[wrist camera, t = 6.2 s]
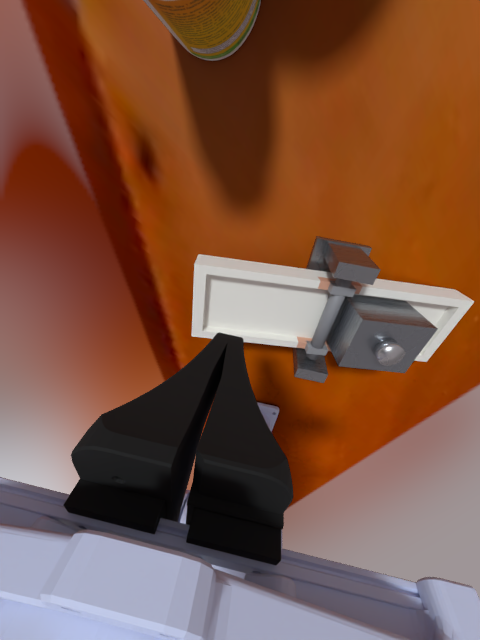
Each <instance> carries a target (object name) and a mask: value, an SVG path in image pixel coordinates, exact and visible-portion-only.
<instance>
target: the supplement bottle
mask: <svg viewBox="0 0 480 640" xmlns="http://www.w3.org/2000/svg"><path fill="white" fill-rule="evenodd" d="M143 1H144V2H145V3H146V4H147V5H148V7H149V8H150V9H151V10H152V11H153V12H154V14H155V15H156V16H157V17H158V18H159V19H160V21H161V22H162V23H163V24H164V25H165V27H166V28H167V29H168V30H169V31H170V33H171V34H172V35H173V36H174V37H175V38H176V39H177V40H178V42H179V43H180V44H181V45H182V46H183V47H184V48H185V49H186V50H187V51H188V52H190V53H191V54H192V55H194V56H196V57H198V58H200V59H204V60H210V61H216V60H221V59H224V58H226V57H228V56H230V55H232V54H233V53H234V52H236V51H237V50H238V49H239V48H240V46H241V45H242V44H243V43H244V41H245V40H246V39H247V37H248V36H249V34H250V32H251V30H252V28H253V26H254V23H255V21H256V18H257V15H258V11H259V7H260V2H261V0H143Z"/></svg>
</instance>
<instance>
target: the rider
mask: <svg viewBox="0 0 480 640" xmlns="http://www.w3.org/2000/svg"><path fill="white" fill-rule="evenodd" d="M437 329H438V328H436V327H435V326H434V325H433V324H432V323H431V322H430V321H428V320H427V319H426V318H425V317H424V316H423V315H421V314H420V313H419V312H418V311H417V310H416V309H414V308H413V307H412V306H411V305H410V304H409V303H408V302H406V301H401V300H393V299H386V298H378V297H371V296H363V295H355V294H354V295H353V297H348V296H345V299H344V301H343V303H342V305H341V308H340V310H339V312H338V314H337V317H336V319H335V321H334V323H333V326H332V328H331V330H330V332H329V335H328V337H327V339H326V341H327V343H328V345H329V347H330V349H331V352H332V354H333V356H334V358H335V360H336V362H337V364H338V366H342V367H351V368H361V369H371V370H380V371H390V372H400V373H405V372H406V371H407V369H408V368H409V367H410V365H411V364H412V363H413V361H414V360H415V359H416V357H417V356H418V355H419V353H420V352H421V351H422V349H423V348H424V347H425V345H426V344H427V343H428V341H429V340H430V339H431V337H432V336H433V335H434V333H435V332H436V331H437Z"/></svg>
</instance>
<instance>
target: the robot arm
mask: <svg viewBox="0 0 480 640" xmlns="http://www.w3.org/2000/svg"><path fill="white" fill-rule="evenodd" d="M243 342H244V339H243V338H242V337H237V336H233V335H228V334H224V333H220V332H219V333H217V334H216V335H215V336H214V338H213V339H212V340H211V341H210V342H209V344H208V345H207V346H206V347H205V348H204V349H203V350H202V351H201V352H200V353H199V354H198V355H197V356H196V357H195V358H194V359H193V360H192V361H190V362H189V363H188V364H187V365H186V366H185V367H184V368H182V369H181V370H180V371H179V372H177V373H176V374H175V375H173V376H172V377H170V378H169V379H168V380H166V381H165V382H163V383H162V384H160V385H159V386H157V387H155V388H154V389H152V390H150V391H149V392H147V393H145V394H143V395H141V396H140V397H138V398H136V399H134V400H132V401H130V402H128V403H126V404H124V405H122V406H120V407H118V408H115V409H113V410H111V411H109V412H107V413H104V414H102V415H101V416H100V417H99V418H98V419H97V420H96V422H95V423H94V424H93V425H92V426H91V427H90V428H89V429H88V431H87V432H86V433H85V435H84V436H83V437H82V439H81V440H80V442H79V443H78V444H77V446H76V447H75V448H74V450H73V451H72V454H71V456H72V462H73V464H74V466H75V468H76V470H77V473H78V475H79V477H80V480H79V482H78V483H77V485H76V486H75V488H74V489H73V491H72V492H71V494H70V495H69V494H65V493H61V492H57V491H52V490H49V489H44V488H41V487H37V486H33V485H29V484H25V483H21V482H17V481H13V480H9V479H5V478H1V477H0V640H480V599H479V597H478V594H477V592H476V590H475V589H474V588H473V587H472V586H469V585H465V584H461V583H457V582H453V581H449V580H445V579H441V578H436V577H425V578H422V579H420V580H418V581H417V582H412V581H409V580H405V579H401V578H397V577H393V576H389V575H385V574H381V573H377V572H373V571H369V570H365V569H361V568H357V567H354V566H350V565H345V564H342V563H338V562H334V561H330V560H326V559H322V558H318V557H314V556H310V555H306V554H302V553H298V552H294V551H290V550H286V549H282V529H283V524H284V523H283V513H284V511H285V510H286V509H287V507H288V506H289V504H290V503H291V502H292V499H293V486H292V479H291V473H290V469H289V464H288V461H287V458H286V456H285V454H284V453H283V451H282V450H281V448H280V447H279V445H278V443H277V442H276V440H275V438H274V436H273V435H272V433H271V432H272V429H273V427H274V424H275V421H276V419H277V416H278V414H279V408H278V407H277V406H273V405H268V404H263V403H259V402H257V401H256V399H255V396H254V393H253V390H252V387H251V384H250V381H249V377H248V373H247V369H246V364H245V358H244V350H243ZM215 395H216V396H215ZM214 397H215V399H214ZM213 400H214V402H213ZM212 403H213V405H212ZM211 405H212V408H211ZM210 408H211V411H210V413H209V410H210ZM208 413H209V416H208ZM207 416H208V419H207V422H206V425H205V428H204V430H203V427H204V424H205V421H206V418H207ZM202 431H203V433H202ZM201 434H202V436H201ZM200 438H201V439H200ZM199 441H200V442H199ZM195 456H196V460H195V468H194V478H193V483H192V487H191V490H186V489H187V485H188V481H189V478H190V474H191V470H192V466H193V463H194V459H195Z"/></svg>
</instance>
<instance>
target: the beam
mask: <svg viewBox="0 0 480 640" xmlns="http://www.w3.org/2000/svg"><path fill="white" fill-rule="evenodd" d="M354 294H355V295H363V296H371V297H378V298H386V299H393V300H401V301H406V302H408V303H409V304H410V305H411V306H412V307H413V308H414V309H416V310H417V311H418V312H419V313H420V314H421V315H423V316H424V317H425V318H426V319H427V320H428V321H430V322H431V323H432V324H433V325H434V326H435V327H436V328H438V329H437V331H436V332H435V333H434V335H433V336H432V337H431V339H430V340H429V341H428V343H427V344H426V345H425V347H424V348H423V349H422V351H421V352H420V353H419V355H418V356H417V357H416V359H415V360H414V361H424V362H427V361H428V359H429V358H430V357H431V356H432V354H433V353H434V352H435V351H436V349H437V348H438V347H439V346H440V344H441V343H442V342H443V341H444V339H445V338H446V337H447V336H448V334H449V333H450V332H451V331H452V329H453V328H454V327H455V325H456V324H457V323H458V322H459V320H460V319H461V318H462V317H463V315H464V314H465V313H466V312H467V310H468V309H469V308H470V307H471V305H472V304H473V303H474V302H475V301H473V300H471V299H470V298H468V297H466V296H465V295H463V294H462V293H460V292H458V291H457V290H455V289H448V288H441V287H434V286H426V285H419V284H412V283H405V282H397V281H390V280H383V279H376V280H375V282H374V284H373V285H370V284H364V283H359V282H354V281H349V280H344V279H339V278H333V276H332V274H331V272H325V271H317V270H310V269H303V268H296V267H288V266H281V265H274V264H266V263H259V262H252V261H245V260H237V259H230V258H223V257H216V256H208V255H201V254H198V257H197V259H196V261H195V264H194V288H193V314H192V336H194V337H203V338H212V339H213V338H214V336H215V335H216V334H217V333H219V332H220V333H224V334H228V335H233V336H237V337H242V338H243V339H244V342H249V343H258V344H267V345H276V346H286V347H295V348H304V349H305V351H306V356H307V357H308V358H309V359H311V360H317V359H318V357H319V355H325V356H326V354H327V351H331V349H330V347H329V345H328V343H327V341H326V339H327V337H328V335H329V332H330V330H331V328H332V326H333V323H334V321H335V319H336V317H337V314H338V312H339V310H340V308H341V305H342V303H343V301H344V299H345V296H348V297H353V295H354Z"/></svg>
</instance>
